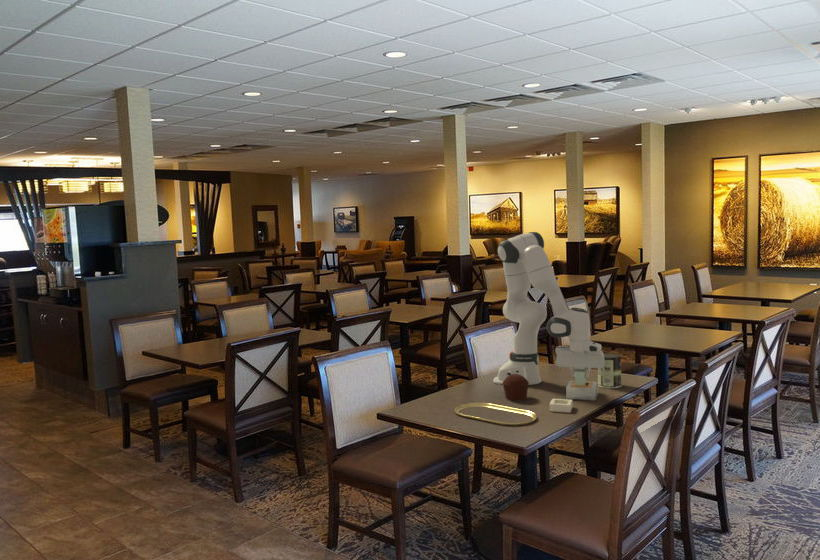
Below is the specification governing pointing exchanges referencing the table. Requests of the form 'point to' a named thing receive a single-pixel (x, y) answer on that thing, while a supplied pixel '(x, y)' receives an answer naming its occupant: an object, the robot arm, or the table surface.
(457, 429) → the table surface
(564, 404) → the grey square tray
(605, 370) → the coffee can
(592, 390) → the port
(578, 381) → the plug
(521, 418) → the table surface
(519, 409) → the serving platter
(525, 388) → the muffin
